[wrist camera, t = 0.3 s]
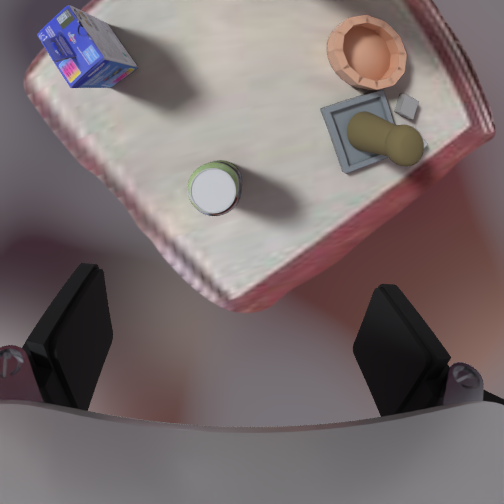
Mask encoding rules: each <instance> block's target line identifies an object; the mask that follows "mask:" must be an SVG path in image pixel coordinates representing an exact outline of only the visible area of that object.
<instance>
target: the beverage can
mask: <svg viewBox="0 0 504 504" xmlns="http://www.w3.org/2000/svg"><path fill="white" fill-rule="evenodd" d="M187 190H188V196H189V199H190V201H191V203H192V205H193V206H194V207H195V208H196V209H197V210H198V211H200V212H201V213H203V214H205V215H209V216H220V215H223V214H226V213H228V212H229V211H231V210H232V209H233V208H234V207H235V206H236V205H237V203H238V201H239V199H240V196H241V190H242V178H241V174H240V172H239V170H238V169H237V168H236V167H235V166H234V165H233V164H232V163H230V162H227V161H222V160H219V161H213V162H210V163H207V164H204V165H202V166H200V167H199V168H198V169H196V170H195V171H194V172H193V174H192V175H191V177H190V179H189V182H188V189H187Z"/></svg>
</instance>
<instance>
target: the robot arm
mask: <svg viewBox="0 0 504 504" xmlns="http://www.w3.org/2000/svg"><path fill="white" fill-rule="evenodd" d="M112 339H113V330H112V325H111V319H110V313H109V307H108V300H107V293H106V286H105V280H104V272H103V270H102V269H99V267H98V265H97V264H87V263H81V264H80V265H79V266H78V267H77V269H76V270H75V271H74V273H73V274H72V275H71V277H70V278H69V279H68V281H67V282H66V283H65V285H64V286H63V287H62V289H61V290H60V292H59V293H58V294H57V296H56V297H55V299H54V300H53V301H52V303H51V304H50V306H49V307H48V309H47V310H46V311H45V313H44V314H43V316H42V317H41V319H40V320H39V322H38V323H37V325H36V327H35V328H34V329H33V331H32V333H31V334H30V336H29V337H28V339H27V340H26V342H25V344H24V346H23V347H22V348H21V347H18V346H15V345H8V346H2V347H0V504H504V399H502V398H500V397H498V396H496V395H493V394H491V393H489V392H487V391H485V390H483V388H484V386H483V385H484V383H483V379H482V376H481V375H480V373H479V372H478V371H477V370H476V369H475V368H474V367H472V366H470V365H469V364H466V363H462V362H457V363H454V364H453V365H451V366H450V367H449V366H448V364H447V363H448V362H449V360H450V358H451V357H450V355H449V354H448V352H447V351H446V349H445V348H444V347H443V345H442V344H441V342H440V341H439V340H438V338H437V337H436V336H435V334H434V333H433V332H432V330H431V329H430V328H429V327H428V325H427V324H426V322H425V321H424V320H423V318H422V317H421V316H420V314H419V313H418V312H417V311H416V309H415V308H414V307H413V305H412V304H411V303H410V302H409V300H408V299H407V298H406V297H405V295H404V294H403V293H402V292H401V290H400V289H399V288H398V287H397V286H396V285H393V284H392V285H391V284H381V285H380V286H379V287H378V288H376V289H375V290H374V292H373V295H372V297H371V300H370V303H369V306H368V309H367V311H366V314H365V317H364V319H363V322H362V324H361V327H360V330H359V332H358V334H357V337H356V340H355V342H354V345H353V353H354V355H355V358H356V360H357V362H358V364H359V367H360V369H361V371H362V373H363V376H364V378H365V380H366V382H367V385H368V387H369V389H370V392H371V394H372V396H373V399H374V401H375V403H376V406H377V408H378V410H379V413H380V415H381V417H377V418H370V419H364V420H356V421H348V422H339V423H328V424H317V425H303V426H285V427H284V426H283V427H219V426H198V425H185V424H174V423H163V422H155V421H147V420H139V419H132V418H126V417H119V416H113V415H107V414H101V413H95V412H90V411H88V408H89V405H90V402H91V399H92V396H93V393H94V390H95V387H96V384H97V381H98V378H99V376H100V373H101V370H102V367H103V364H104V362H105V359H106V356H107V354H108V351H109V348H110V346H111V343H112Z"/></svg>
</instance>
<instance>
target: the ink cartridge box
mask: <svg viewBox="0 0 504 504" xmlns="http://www.w3.org/2000/svg"><path fill="white" fill-rule="evenodd" d="M37 35H38V37H39V39H40V40H41V42H42V44H43V45H44V47H45V49H46V50H47V52H48V53H49V55H50V57H51V58H52V60H53V61H54V63H55V64H56V66H57V68H58V69H59V71H60V72H61V74H62V75H63V77H64V78H65V80H66V81H67V83H68V84H69V86H70V88H110V87H113V86H114V85H115V84H117V83H118V82H119V81H121V80H122V79H123V78H125V77H126V76H127V75H129V74H130V73H132V72H133V71H134V70H136V69H137V65H136V64H135V62H134V61H133V59H132V58H131V56H130V55H129V54H128V52H127V51H126V49H125V48H124V47H123V45H122V44H121V42H120V41H119V39H118V38H117V37H116V35H115V34H114V32H113V31H112V30H111V28H110V27H109V25H108V24H107V23H105V22H103V21H101V20H99V19H97V18H95V17H93V16H91V15H89V14H87V13H85V12H83V11H81V10H79V9H77V8H74V7H72V6H70V5H68V6H66V7H65V8H64V9H63V10H62V11H61V12H60V13H59V14H57V15H56V16H55V17H54V18H53V19H52V20H51V21H50V22H49V23H48V24H47V25H46V26H45V27H44V28H43V29H42V30H41V31H40V32H39V33H38V34H37Z"/></svg>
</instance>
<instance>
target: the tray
mask: <svg viewBox="0 0 504 504" xmlns="http://www.w3.org/2000/svg"><path fill="white" fill-rule="evenodd" d="M320 110H321V113H322V115H323V118H324V120H325V123H326V126H327V129H328V131H329V134H330V137H331V140H332V143H333V145H334V148H335V151H336V154H337V157H338V160H339V163H340V166H341V169H342V172H344V173H348V172H351V171H354V170H356V169H359V168H361V167H364V166H367V165H369V164H372V163H375V162H377V161H380V160H382V159H385V158H388V156H384V155H380V154H375V153H370V152H365V151H360V150H357V149H355V148H354V147H353V146H352V145H351V144H350V142H349V140H348V137H347V127H348V124H349V121H350V119H351V118H352V117H353V116H354V115H355V114H357V113H359V112H364V111H366V112H370V113H372V114H374V115H377V116H379V117H381V118H383V119H385V120H387V121H389V122H391V123H393V124H394V122H393V119H392V115H391V112H390V109H389V106H388V103H387V99H386V96H385V93H384V90H378V91H374V92H371V93H367V94H364V95H361V96H357V97H354V98H351V99H348V100H345V101H341V102H338V103H335V104H332V105H329V106H326V107H323V108H321V109H320Z"/></svg>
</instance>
